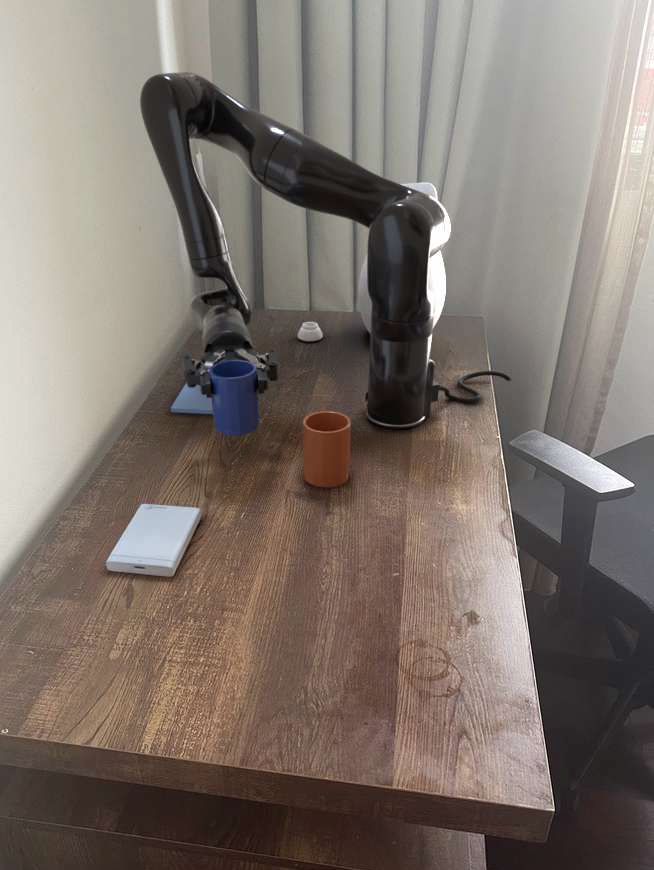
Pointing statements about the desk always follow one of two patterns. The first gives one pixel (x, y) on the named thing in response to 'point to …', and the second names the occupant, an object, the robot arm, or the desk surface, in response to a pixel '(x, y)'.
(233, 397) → the blue cup
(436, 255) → the pitcher
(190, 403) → the blue mat
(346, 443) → the terracotta cup
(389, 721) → the desk surface
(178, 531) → the hard drive
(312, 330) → the white jar
